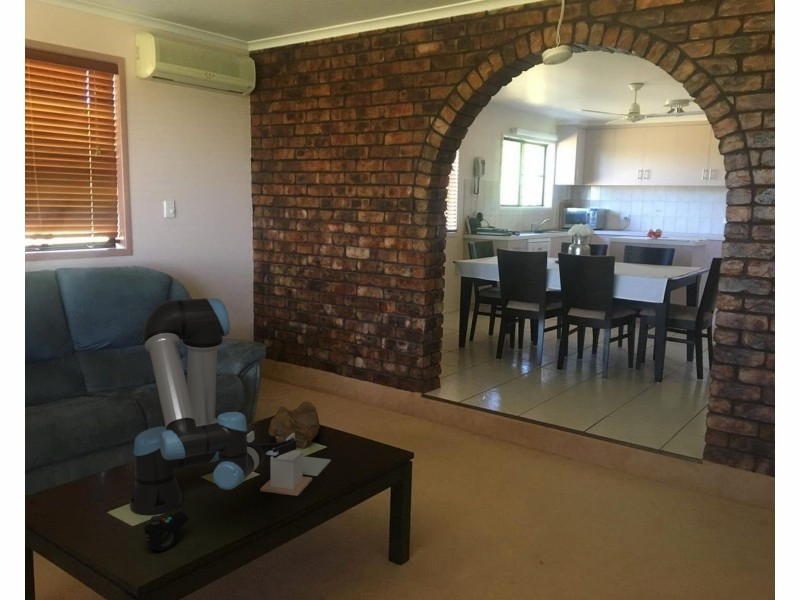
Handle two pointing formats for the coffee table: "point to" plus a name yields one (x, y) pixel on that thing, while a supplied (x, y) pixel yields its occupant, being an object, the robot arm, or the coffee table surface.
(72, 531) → the coffee table surface
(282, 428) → the rough brown rock
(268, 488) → the thin square tile
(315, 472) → the mat
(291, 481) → the white box
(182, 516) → the controller
